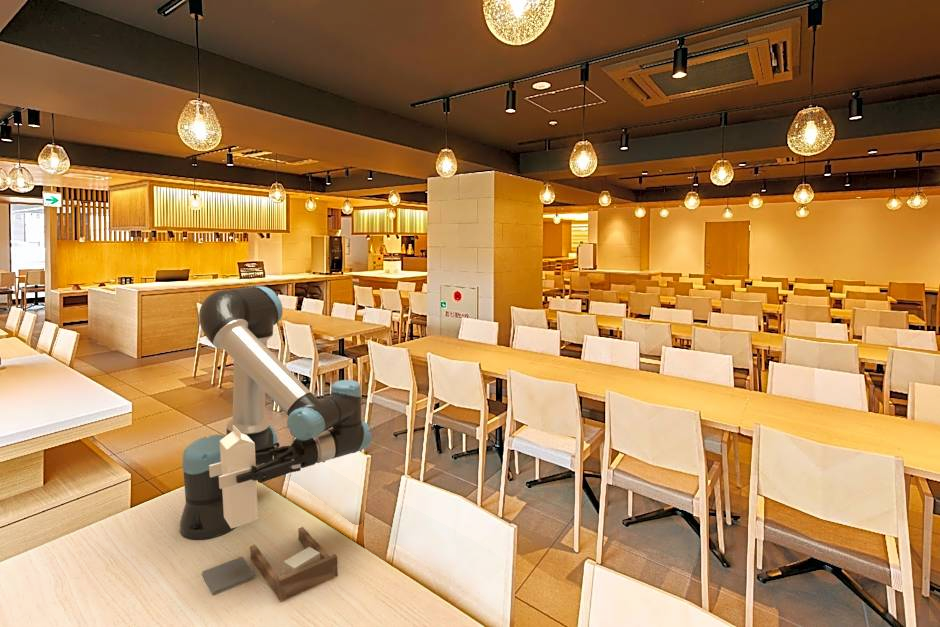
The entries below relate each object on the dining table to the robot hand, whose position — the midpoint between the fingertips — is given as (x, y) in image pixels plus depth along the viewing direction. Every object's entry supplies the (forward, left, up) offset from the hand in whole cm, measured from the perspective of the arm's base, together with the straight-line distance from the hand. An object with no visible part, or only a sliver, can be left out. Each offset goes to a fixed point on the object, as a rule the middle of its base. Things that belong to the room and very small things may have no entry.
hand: (214, 476), depth 114 cm
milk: (0, +5, -12) cm, 13 cm away
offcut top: (+11, +15, -23) cm, 30 cm away
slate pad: (-1, +2, -26) cm, 26 cm away
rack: (+5, +15, -26) cm, 30 cm away
